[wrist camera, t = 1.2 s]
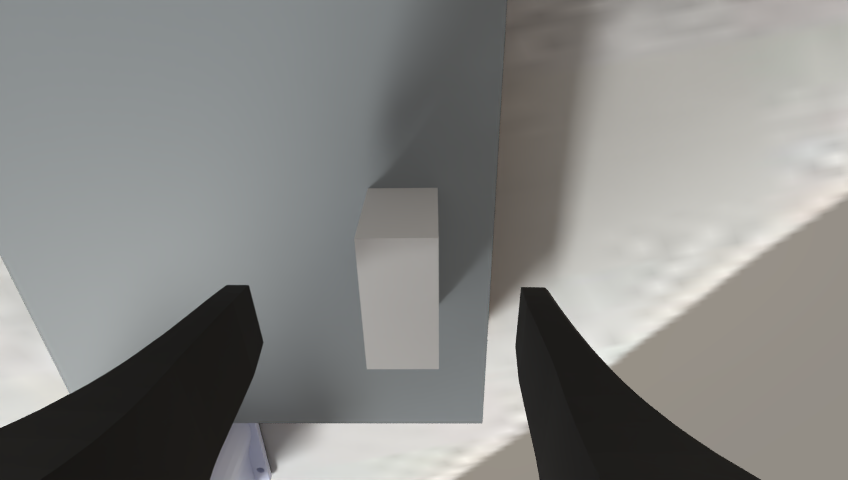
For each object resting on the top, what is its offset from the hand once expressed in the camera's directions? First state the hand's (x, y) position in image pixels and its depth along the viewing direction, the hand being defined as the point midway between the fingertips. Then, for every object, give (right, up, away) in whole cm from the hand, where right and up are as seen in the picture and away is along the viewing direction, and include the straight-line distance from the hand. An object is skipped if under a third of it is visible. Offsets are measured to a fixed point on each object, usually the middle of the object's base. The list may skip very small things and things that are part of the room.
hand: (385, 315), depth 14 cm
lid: (-6, +2, +6) cm, 9 cm away
